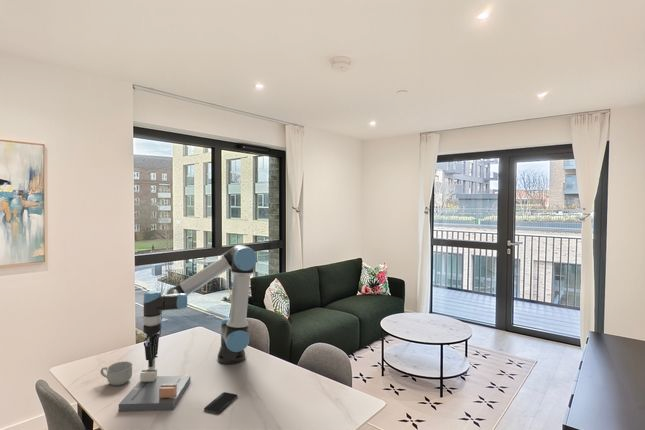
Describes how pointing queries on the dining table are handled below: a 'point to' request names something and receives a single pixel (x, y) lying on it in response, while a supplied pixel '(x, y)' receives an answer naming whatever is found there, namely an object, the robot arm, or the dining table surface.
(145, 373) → the block
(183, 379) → the console
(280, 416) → the dining table surface
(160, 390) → the fader terracotta
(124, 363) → the teacup
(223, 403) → the phone
